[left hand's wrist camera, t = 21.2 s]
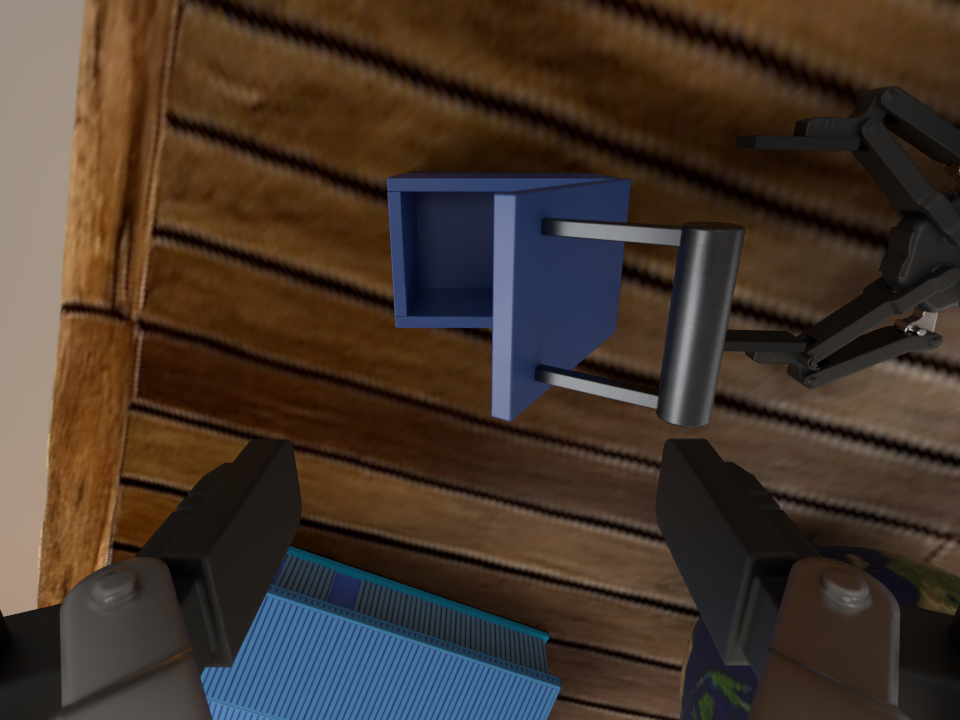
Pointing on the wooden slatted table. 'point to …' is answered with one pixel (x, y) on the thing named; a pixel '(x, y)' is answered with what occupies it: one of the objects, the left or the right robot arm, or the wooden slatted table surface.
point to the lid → (602, 298)
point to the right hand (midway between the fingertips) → (724, 247)
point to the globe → (731, 688)
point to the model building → (377, 654)
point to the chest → (451, 243)
